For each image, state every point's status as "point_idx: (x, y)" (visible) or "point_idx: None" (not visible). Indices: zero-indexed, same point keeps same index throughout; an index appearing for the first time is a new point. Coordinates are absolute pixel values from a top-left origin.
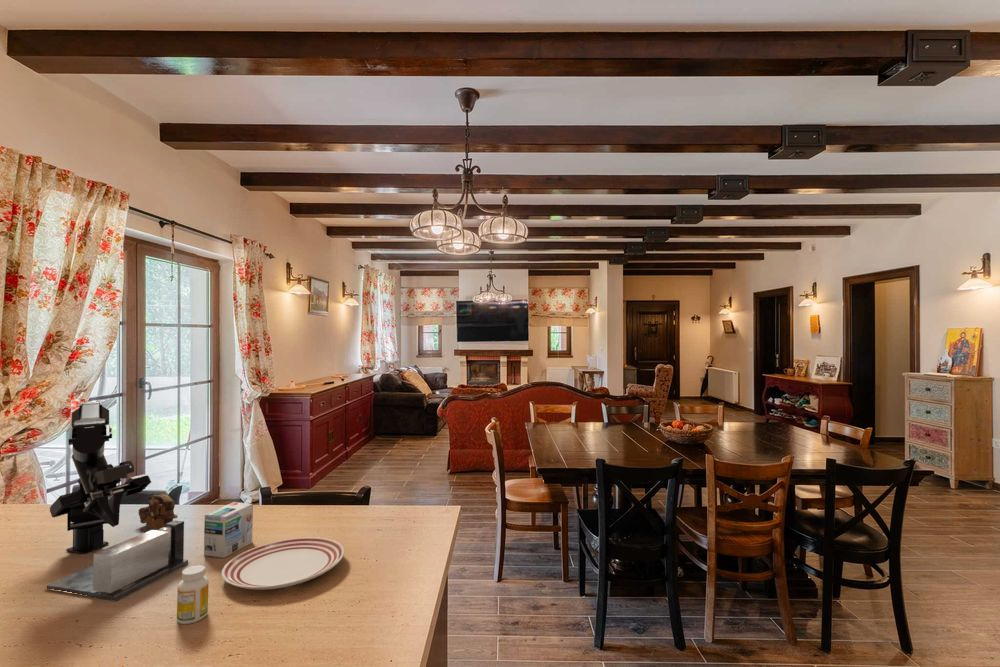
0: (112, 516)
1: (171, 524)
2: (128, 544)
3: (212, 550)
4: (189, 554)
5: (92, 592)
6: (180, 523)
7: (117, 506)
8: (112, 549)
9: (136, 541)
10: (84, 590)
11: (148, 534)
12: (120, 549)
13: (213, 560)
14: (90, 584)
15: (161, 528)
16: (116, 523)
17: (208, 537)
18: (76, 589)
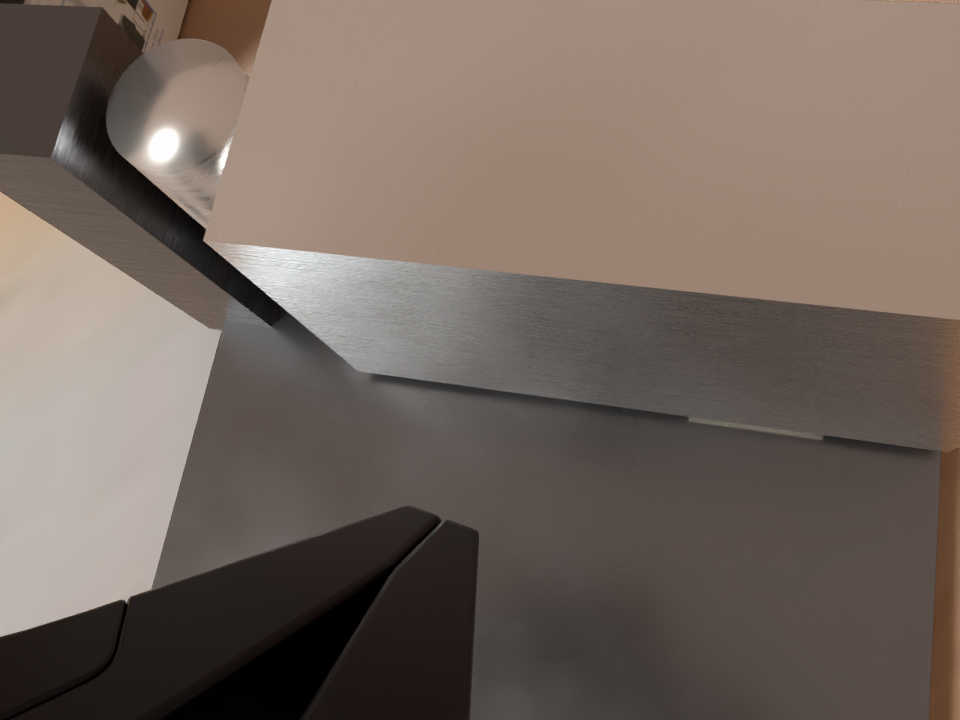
0: (407, 621)
1: (79, 72)
2: (735, 124)
3: (143, 40)
4: (117, 275)
5: (937, 465)
6: (41, 9)
7: (68, 667)
8: (949, 189)
9: (618, 109)
10: (921, 580)
11: (370, 151)
12: (923, 79)
13: (233, 24)
14: (801, 629)
15: (162, 153)
16: (445, 520)
17: (62, 2)
18: (920, 686)
